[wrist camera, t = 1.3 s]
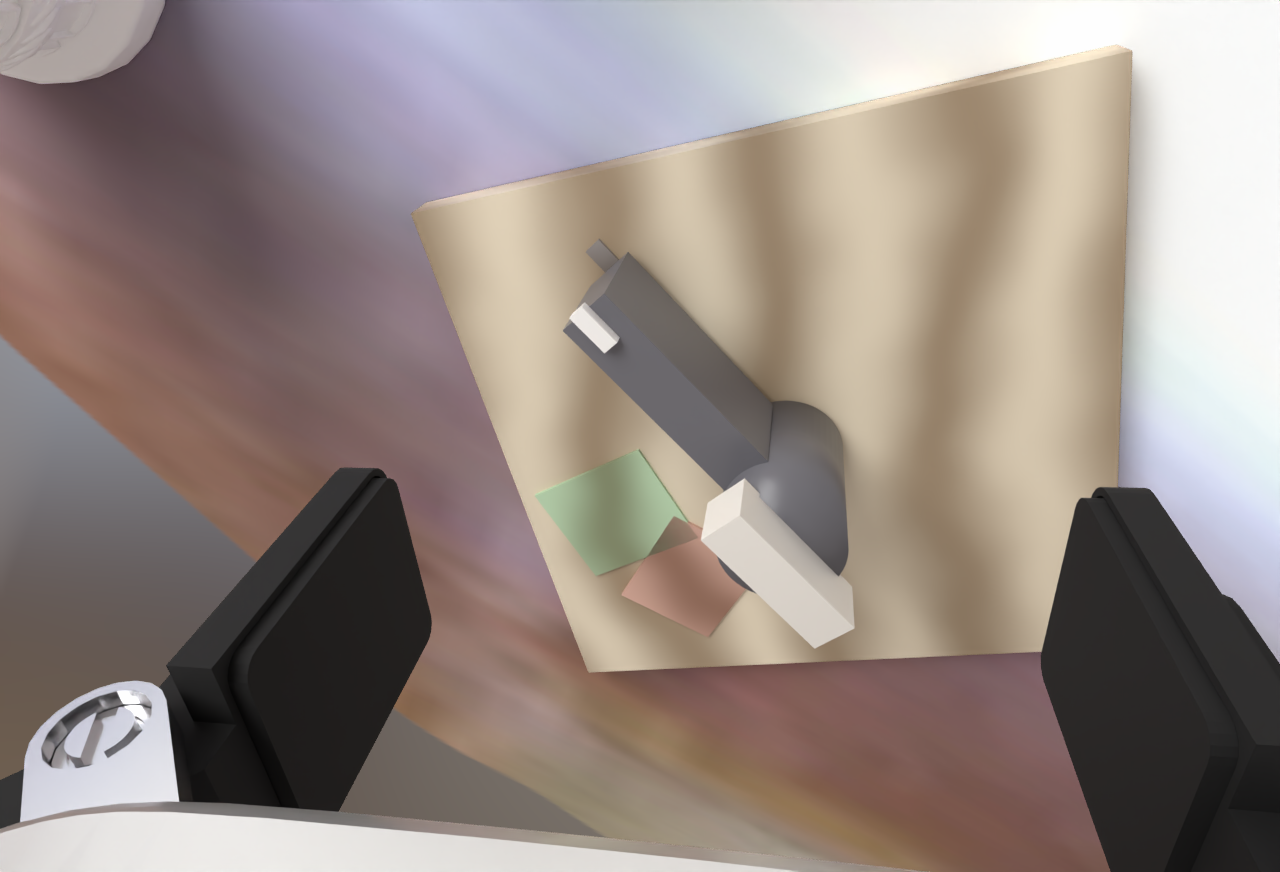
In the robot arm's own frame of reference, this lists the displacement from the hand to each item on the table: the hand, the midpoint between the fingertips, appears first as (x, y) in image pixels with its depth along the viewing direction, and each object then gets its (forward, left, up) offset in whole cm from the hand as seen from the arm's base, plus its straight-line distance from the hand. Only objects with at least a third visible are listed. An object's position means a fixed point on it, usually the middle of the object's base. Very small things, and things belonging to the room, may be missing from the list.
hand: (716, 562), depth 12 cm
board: (+1, +10, -21) cm, 23 cm away
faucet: (+3, +7, -19) cm, 21 cm away
